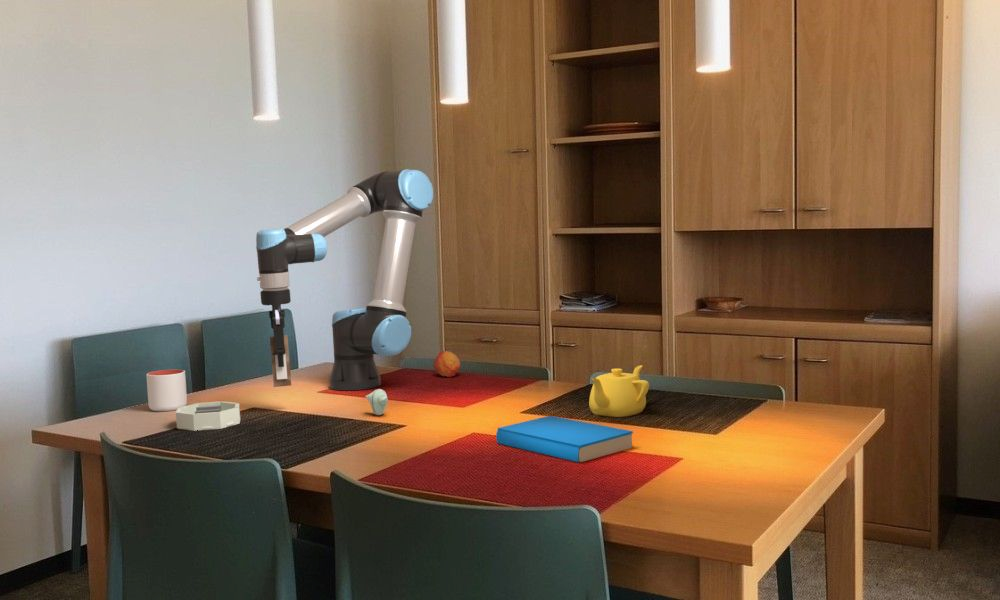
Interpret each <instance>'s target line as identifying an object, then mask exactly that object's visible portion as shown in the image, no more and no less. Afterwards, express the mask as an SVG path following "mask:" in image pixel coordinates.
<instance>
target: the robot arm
mask: <svg viewBox="0 0 1000 600" xmlns="http://www.w3.org/2000/svg"><path fill="white" fill-rule="evenodd" d="M433 199H434V188H433V183H432V182H431V181H430V178H429V177H428V176H427V174H426V173H424V172H423V171H420V170H418V169H409V168H407V169H402V170H389V171H388V170H386V171H380V172H378V173H375V174H374V175H373V174H372V175H371V176H369V177H367V178H365V179H363V180H362V181H360V182H359V183H357V184H355V185H353V186H352V187H350V188H349V189H348V190H347V192H346V194H344V195H342V196H341V197H339V198H337V199H336V200H333V201H332V202H330V203H328V204H326V205H325V206H323V207H321V208H319V209H317V210H316V211H313V212H312V213H310V214H308V215H307V216H305V217H303V218H301V219H300V220H298V221H296V222H294V223H292V224H290V225H289V226H287V227H285V228H283V229H281V228H279V229H278V228H275V229H274V228H273V229H272V228H271V229H263V230H262V229H261V230H259V231H257V232H256V237H255V242H256V246H255V249H256V256H257V257H256V258H257V267H258V273H259V274H258V277H257V278H256V280H257V281H258V282H259V287H260V289H262V290H261V291H260V303H261V305H263V306H271V310H269V311H268V314H269V316H268V317H269V319H270V327H271V329H273V336H274V342H275V353H272V354H273V355H275V362H276V375H277V380H278V379H287V367H286V354H285V346H284V335H285V334H284V328H285V326H286V324H285V318H286V312H285V309H282V307H281V305H287V304H290V303H291V290H290V288H289V287H290V286H291V285H290V284H291V283H290V271H289V265H293V264H306V263H315V262H320V261H323V260H324V259H325V257H327V256H326V255H327V253H328V244H327V241H326V239H325V237H326V236H329V235H330V234H331V233H334V232H335V231H338V230H339V229H341V228H342V227H344V226H346V225H347V224H349V223H351V222H353V221H355V220H356V219H358V218H359V217H360V218H366V217H368V216H370V215H372V214H375V213H379V212H381V214H382V215H383V217H384V218H385V225H384V231H383V237H382V242H381V249H380V254H379V260H378V268H377V273H376V280H375V286H374V291H373V298H372V300H371V301H370V302H369V303H368V304H366V307H361V308H354V309H347V310H338V311H336V312H334V313H333V314H332V319H331V327H332V342H333V357H334V358H333V361H334V362H333V366H332V368H331V369H332V370H331V373H330V377H329V382H328V383H329V389H332V390H334V391H335V390H336V391H361V390H367V389H369V390H370V389H373V388H378V387H380V386H381V385H382V381H381V380H382V379H381V374H380V373H379V370H378V367H377V363H376V362H375V358H374V356H375V355H378V356H383V357H386V356H387V357H388V356H396V355H398V354H400V353H402V352H403V351H404V350H405V349H406V348H407V347H408V345H409V343H410V341H411V339H412V326H411V325H410V321H409V320H408V319H407V309H405V307H404V305H403V304H404V297H405V291H406V286H407V285H406V283H407V278H408V272H409V265H410V259H411V254H412V253H411V252H412V247H413V240H414V235H415V234H414V233H415V228H416V224H417V223H419V222H420V221H421V220H422V217H423V211H424V210H426V209H428V208H429V207H430V206H431V205H432V203H433Z"/></svg>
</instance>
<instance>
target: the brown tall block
mask: <svg viewBox="0 0 1000 600" xmlns="http://www.w3.org/2000/svg"><path fill="white" fill-rule="evenodd" d="M288 337H289V336H288V335H287V334H286V335H285V334H284V346H285V354H286V367H287V379H278V380H277V375H276V362H275V355H273V354H272V353H275V342H274V335H273V336H269V343H270V344H269V345H270V355H271V356H270V357H271V369H272V381H273V388H277V387H288V386H292V377H291V376H292V375H291V362H290V352H289V351H290V349H289V338H288Z"/></svg>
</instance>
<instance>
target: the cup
mask: <svg viewBox="0 0 1000 600" xmlns="http://www.w3.org/2000/svg"><path fill="white" fill-rule="evenodd" d="M186 379H187V378H186V370H183V369H178V368H177V369H160V370H154V371H150V372H148V373H146V390H147V402H148V403H147V405H148V407H149V409H150V410H151V411H153V412H171V411H177V409H178V408H179V407H183V406H187V403H188V398H187V396H188V395H187V394H188V393H187V381H186Z"/></svg>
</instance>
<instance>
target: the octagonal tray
mask: <svg viewBox="0 0 1000 600" xmlns="http://www.w3.org/2000/svg"><path fill="white" fill-rule="evenodd" d="M175 418H176V421H175V422H176V429H178V430H184V431H194V432H196V431H197V430H198V431H209V430H211V431H212V430H220V429H224V428H229V427H232V426H233V427H234V426H235V425H238V424H240V423H241V408H240V402H234V401H233V402H231V401H220V400H219V401H209V402H207V401H206V402H196V403H191V404H189V405H186V406H183V407H179V408H178V409H177V410H175ZM198 431H197V432H198Z"/></svg>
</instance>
